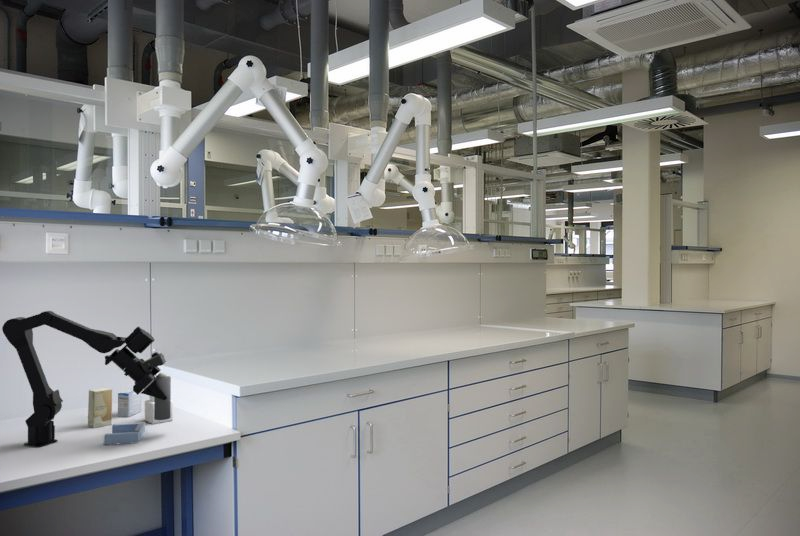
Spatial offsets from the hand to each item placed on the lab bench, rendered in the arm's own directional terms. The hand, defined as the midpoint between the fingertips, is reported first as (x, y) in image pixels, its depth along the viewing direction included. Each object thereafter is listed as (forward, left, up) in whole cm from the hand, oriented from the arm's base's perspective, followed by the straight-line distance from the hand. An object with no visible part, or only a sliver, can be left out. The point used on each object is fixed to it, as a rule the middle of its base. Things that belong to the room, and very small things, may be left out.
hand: (167, 397), depth 189 cm
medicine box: (+16, +31, -12) cm, 38 cm away
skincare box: (+1, +30, -12) cm, 32 cm away
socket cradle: (-7, +11, -12) cm, 18 cm away
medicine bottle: (+13, +15, -12) cm, 24 cm away
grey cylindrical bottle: (-1, +1, -7) cm, 7 cm away
